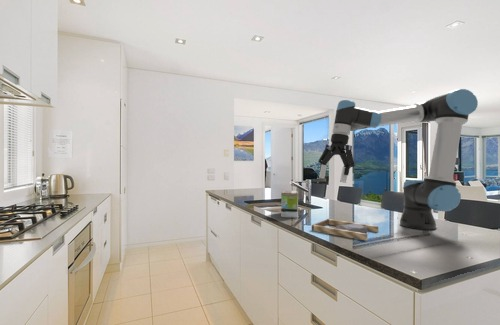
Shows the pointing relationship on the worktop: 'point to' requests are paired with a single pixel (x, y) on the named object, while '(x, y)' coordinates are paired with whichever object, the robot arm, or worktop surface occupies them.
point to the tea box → (289, 204)
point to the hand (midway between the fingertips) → (331, 180)
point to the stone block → (353, 228)
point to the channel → (351, 234)
